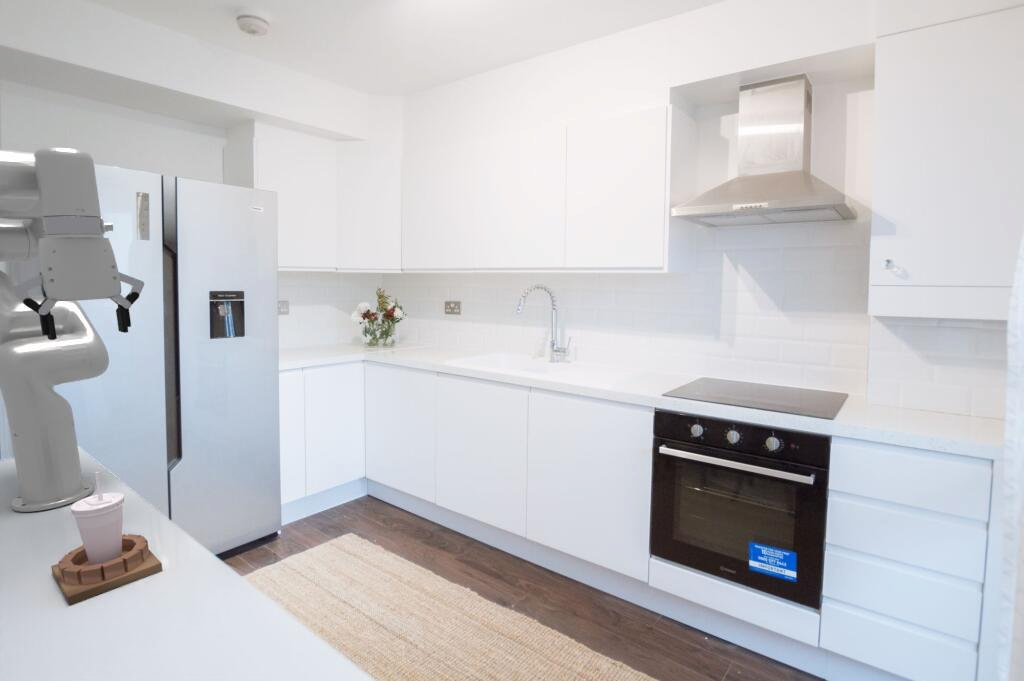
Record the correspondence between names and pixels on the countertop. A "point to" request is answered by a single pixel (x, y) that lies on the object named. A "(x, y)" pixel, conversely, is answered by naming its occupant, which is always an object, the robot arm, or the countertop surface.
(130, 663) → the countertop surface
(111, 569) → the ring board
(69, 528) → the countertop surface
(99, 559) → the smoothie
